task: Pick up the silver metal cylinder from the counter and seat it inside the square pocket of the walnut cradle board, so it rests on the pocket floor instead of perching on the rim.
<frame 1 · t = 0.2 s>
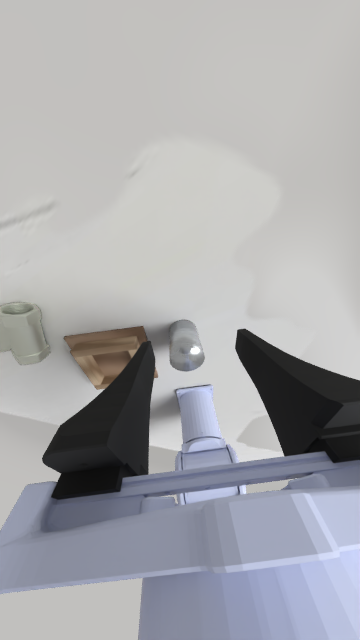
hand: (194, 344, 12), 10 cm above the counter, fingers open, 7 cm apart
silver metal cylinder: (183, 331, 23), on the counter
cradle board: (118, 356, 26), on the counter
pipe fitting: (25, 323, 21), on the counter
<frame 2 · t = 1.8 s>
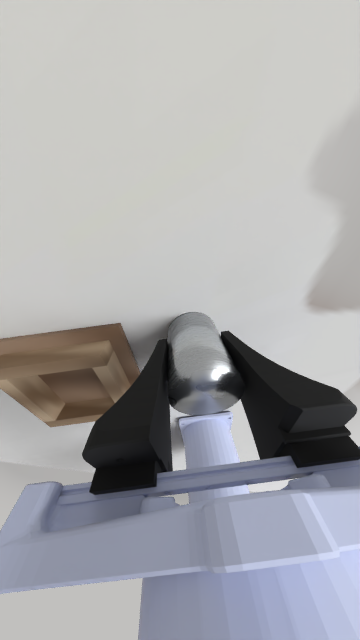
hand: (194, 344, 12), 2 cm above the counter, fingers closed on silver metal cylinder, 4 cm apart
silver metal cylinder: (191, 333, 13), on the counter, touching gripper
cradle board: (85, 372, 16), on the counter
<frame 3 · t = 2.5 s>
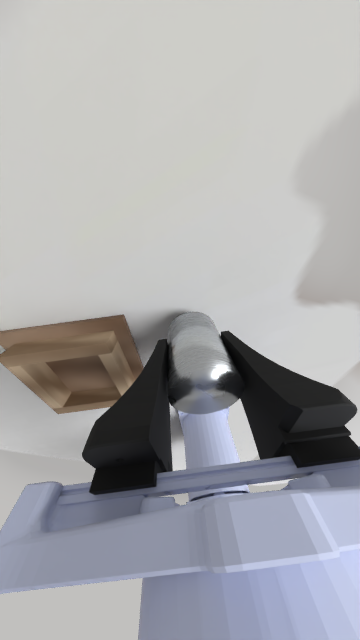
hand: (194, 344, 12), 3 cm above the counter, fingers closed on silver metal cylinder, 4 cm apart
silver metal cylinder: (191, 332, 13), point 1 cm above the counter, touching gripper
cradle board: (90, 363, 17), on the counter
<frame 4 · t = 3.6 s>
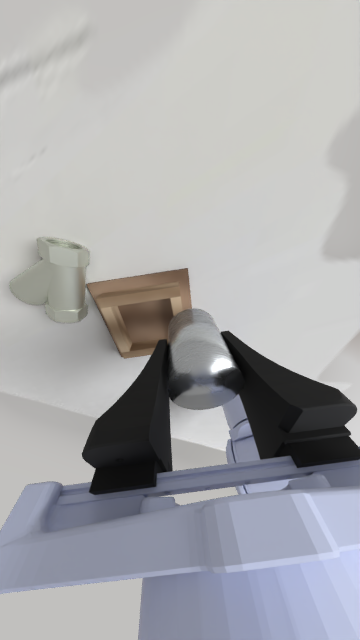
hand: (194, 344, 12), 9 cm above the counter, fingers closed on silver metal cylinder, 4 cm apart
silver metal cylinder: (191, 329, 13), point 7 cm above the counter, touching gripper
cradle board: (150, 316, 21), on the counter
pipe fitting: (62, 274, 17), on the counter
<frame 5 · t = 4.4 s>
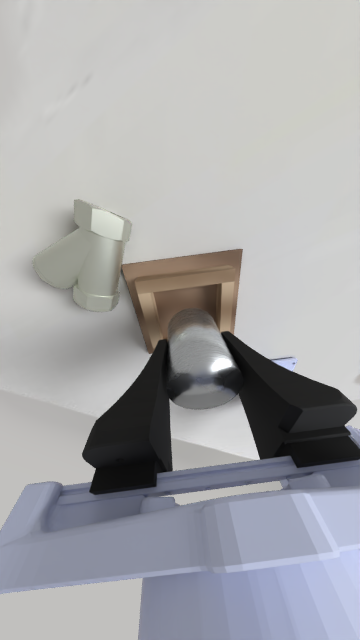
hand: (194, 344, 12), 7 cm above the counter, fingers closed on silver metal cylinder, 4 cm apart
silver metal cylinder: (191, 329, 13), point 5 cm above the counter, touching gripper
cradle board: (186, 307, 18), on the counter
pipe fitting: (92, 253, 14), on the counter
when the fingers open (4 cm above the counter, at t = 5.3 s): silver metal cylinder drops 2 cm, resting on cradle board.
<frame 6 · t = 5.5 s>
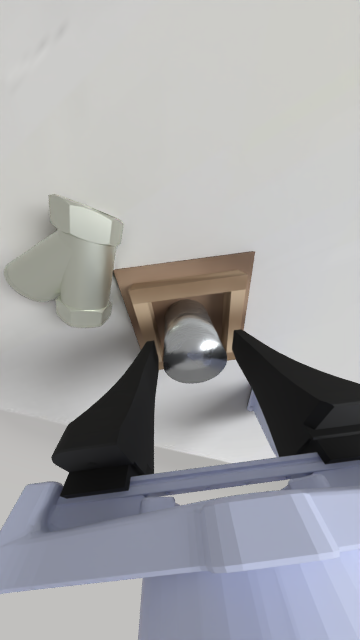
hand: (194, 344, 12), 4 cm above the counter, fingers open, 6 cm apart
silver metal cylinder: (186, 318, 15), resting on cradle board
cradle board: (188, 316, 16), on the counter, touching silver metal cylinder
pipe fitting: (79, 259, 12), on the counter
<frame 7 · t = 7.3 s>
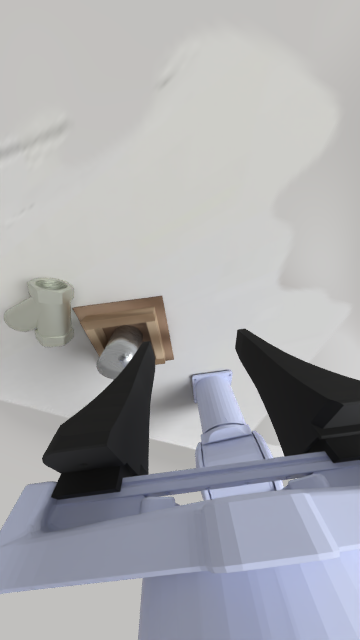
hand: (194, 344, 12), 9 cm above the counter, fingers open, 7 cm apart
silver metal cylinder: (128, 336, 22), resting on cradle board
cradle board: (131, 333, 23), on the counter, touching silver metal cylinder
pipe fitting: (51, 303, 19), on the counter
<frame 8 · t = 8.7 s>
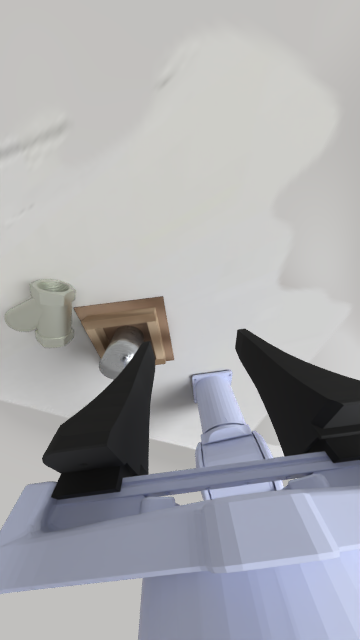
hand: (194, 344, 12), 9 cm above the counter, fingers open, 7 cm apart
silver metal cylinder: (129, 337, 22), resting on cradle board
cradle board: (132, 334, 23), on the counter, touching silver metal cylinder
pipe fitting: (51, 303, 19), on the counter
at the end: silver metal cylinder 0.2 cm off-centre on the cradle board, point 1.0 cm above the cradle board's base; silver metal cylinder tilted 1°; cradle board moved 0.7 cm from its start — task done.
